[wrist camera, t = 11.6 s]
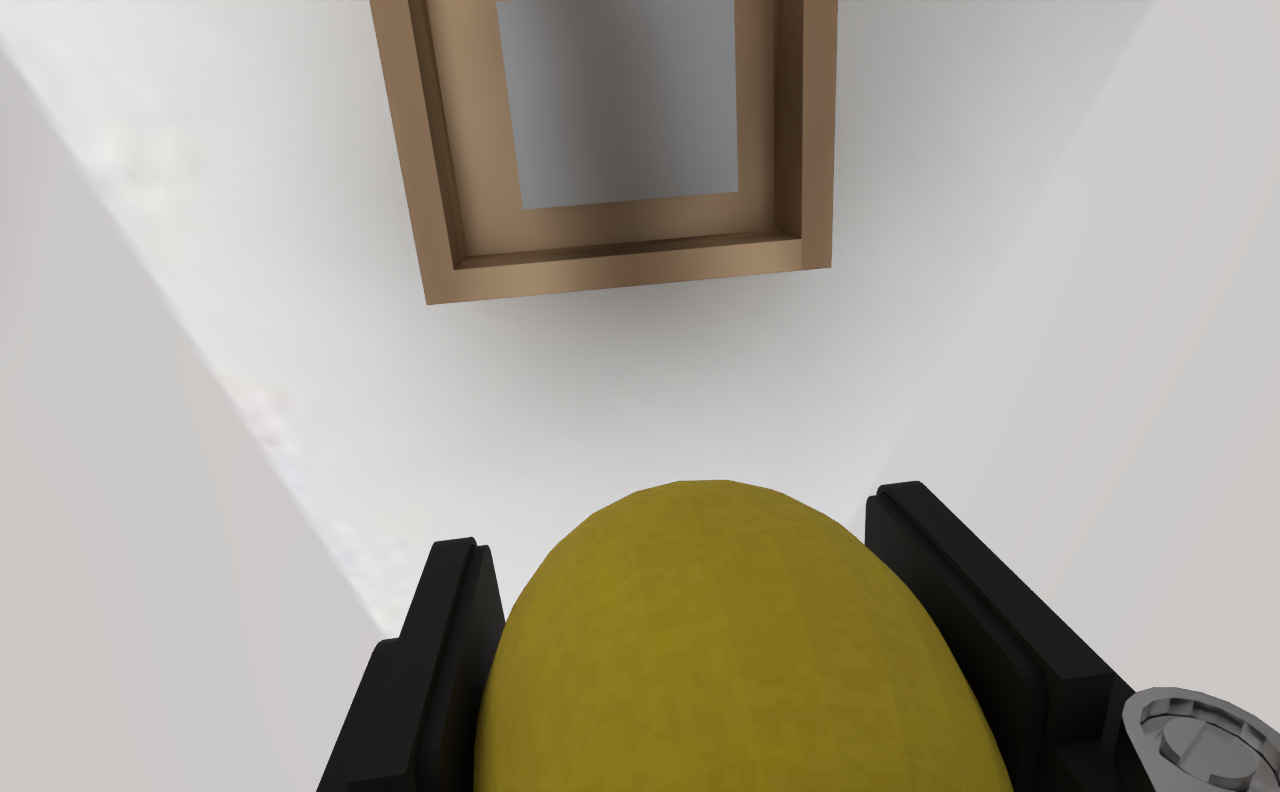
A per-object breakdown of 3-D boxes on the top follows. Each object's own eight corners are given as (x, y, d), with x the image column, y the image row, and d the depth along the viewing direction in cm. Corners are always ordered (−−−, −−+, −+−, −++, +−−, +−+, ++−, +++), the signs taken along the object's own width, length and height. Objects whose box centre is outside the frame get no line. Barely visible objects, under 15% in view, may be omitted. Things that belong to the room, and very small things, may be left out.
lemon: (444, 496, 11) (142, 1298, 3) (753, 334, 10) (1232, 845, 3) (609, 717, 13) (655, 1539, 5) (876, 590, 12) (1350, 1299, 5)
